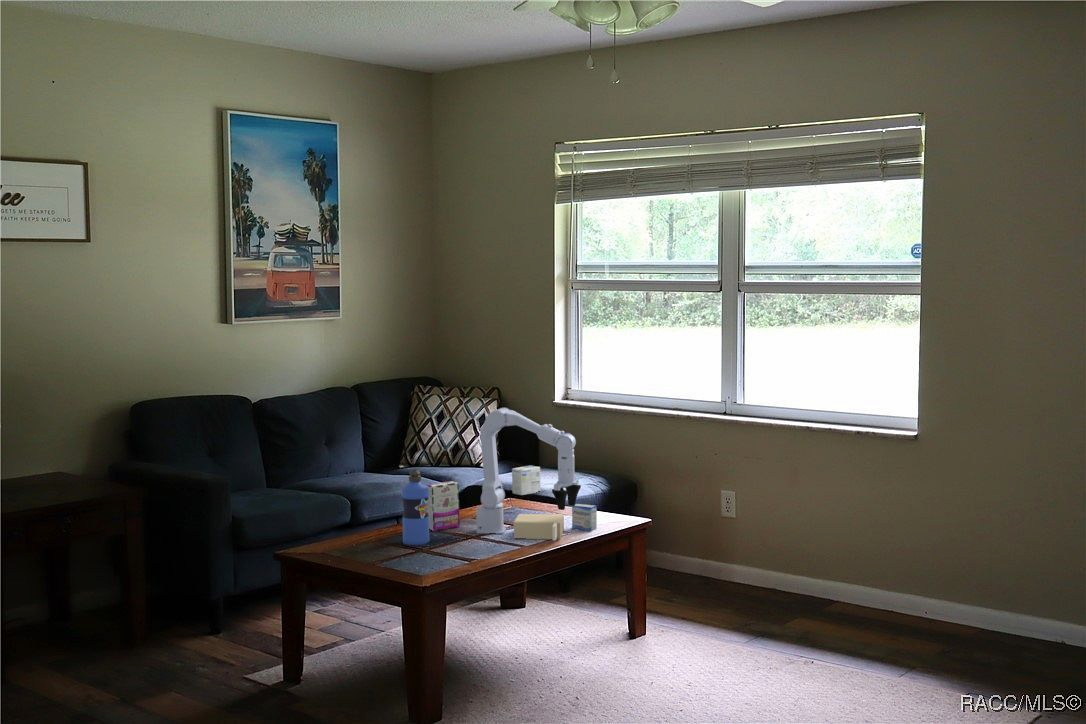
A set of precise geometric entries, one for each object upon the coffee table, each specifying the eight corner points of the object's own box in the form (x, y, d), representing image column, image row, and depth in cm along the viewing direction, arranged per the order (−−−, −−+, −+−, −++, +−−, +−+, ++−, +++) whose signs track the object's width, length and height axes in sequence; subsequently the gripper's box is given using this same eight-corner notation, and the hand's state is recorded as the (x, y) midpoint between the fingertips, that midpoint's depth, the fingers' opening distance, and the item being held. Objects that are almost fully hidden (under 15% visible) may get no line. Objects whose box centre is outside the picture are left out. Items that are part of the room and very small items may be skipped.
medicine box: (571, 529, 382) (571, 505, 381) (577, 526, 386) (576, 503, 385) (591, 531, 378) (591, 507, 377) (597, 528, 382) (596, 505, 381)
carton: (514, 538, 369) (514, 521, 368) (519, 530, 381) (518, 514, 380) (560, 539, 367) (560, 522, 366) (563, 531, 379) (563, 514, 378)
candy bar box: (452, 524, 391) (452, 480, 390) (460, 527, 387) (459, 482, 386) (426, 529, 385) (425, 484, 383) (433, 531, 381) (432, 486, 379)
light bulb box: (531, 489, 457) (530, 464, 456) (541, 492, 451) (540, 466, 451) (511, 493, 450) (511, 467, 449) (521, 495, 445) (521, 469, 444)
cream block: (511, 542, 362) (511, 525, 361) (514, 538, 368) (514, 521, 368) (558, 543, 360) (558, 526, 360) (560, 538, 367) (560, 522, 366)
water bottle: (435, 540, 367) (434, 468, 365) (417, 546, 359) (416, 473, 357) (414, 537, 372) (413, 466, 370) (396, 543, 364) (395, 470, 363)
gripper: (566, 473, 362) (566, 512, 363) (586, 466, 375) (586, 504, 376) (548, 471, 366) (548, 510, 367) (568, 465, 378) (568, 502, 379)
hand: (566, 507), depth 372 cm, fingers open, 7 cm apart
